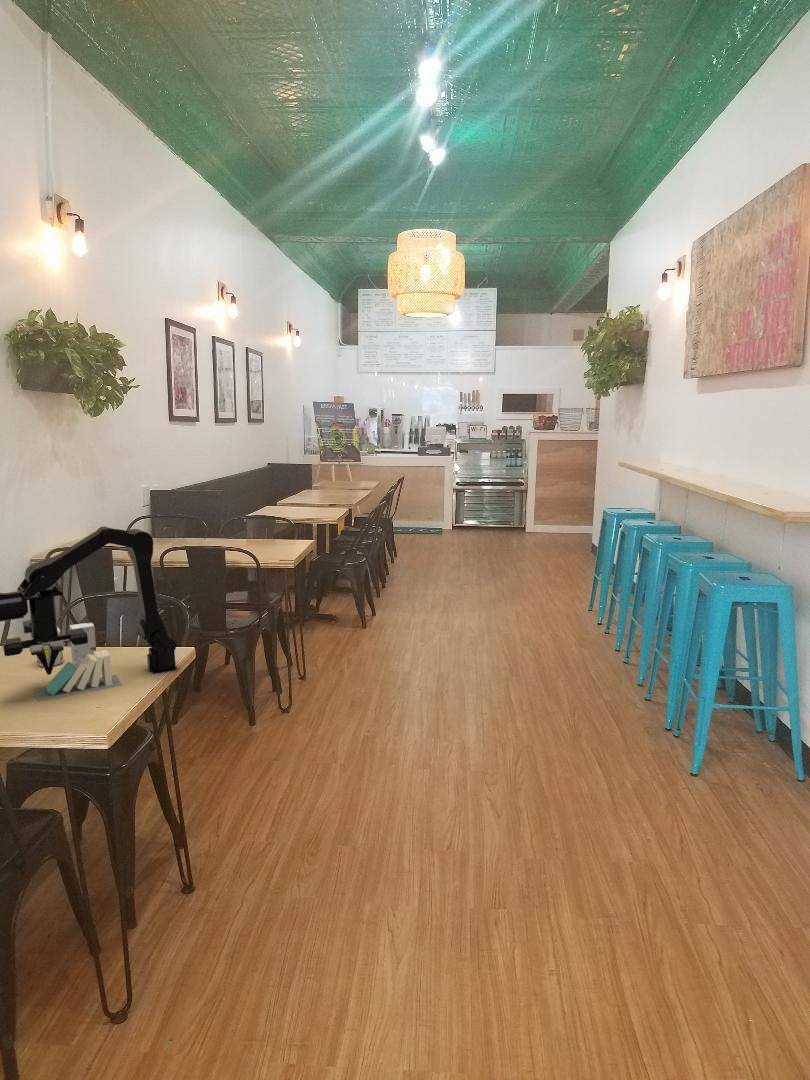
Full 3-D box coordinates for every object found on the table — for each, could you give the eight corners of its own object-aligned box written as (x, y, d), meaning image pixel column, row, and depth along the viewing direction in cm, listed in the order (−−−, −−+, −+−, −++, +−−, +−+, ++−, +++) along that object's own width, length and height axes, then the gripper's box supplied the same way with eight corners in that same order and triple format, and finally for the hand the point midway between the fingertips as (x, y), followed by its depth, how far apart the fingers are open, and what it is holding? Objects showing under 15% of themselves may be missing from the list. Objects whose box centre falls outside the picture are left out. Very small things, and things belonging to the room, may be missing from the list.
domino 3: (94, 681, 190) (100, 651, 190) (98, 687, 186) (103, 657, 186) (88, 681, 189) (93, 651, 189) (91, 687, 185) (97, 657, 185)
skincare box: (74, 671, 199) (70, 629, 197) (71, 666, 203) (68, 625, 200) (98, 666, 202) (95, 625, 200) (95, 662, 206) (91, 621, 204)
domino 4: (108, 678, 192) (106, 650, 191) (112, 684, 188) (110, 655, 187) (102, 679, 191) (100, 651, 190) (105, 685, 187) (103, 656, 186)
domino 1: (66, 686, 187) (84, 659, 188) (68, 692, 183) (87, 665, 184) (60, 683, 186) (78, 657, 187) (62, 690, 182) (81, 662, 183)
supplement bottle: (54, 658, 209) (50, 615, 207) (68, 662, 206) (64, 618, 204) (32, 665, 204) (28, 621, 201) (46, 669, 200) (42, 624, 198)
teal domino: (51, 689, 185) (73, 664, 187) (53, 695, 181) (76, 670, 183) (45, 685, 184) (68, 661, 186) (48, 692, 180) (71, 666, 182)
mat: (116, 676, 195) (116, 674, 195) (122, 686, 188) (122, 685, 187) (33, 691, 185) (33, 689, 185) (37, 703, 177) (37, 701, 177)
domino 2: (80, 683, 189) (93, 655, 189) (83, 690, 184) (96, 660, 185) (74, 682, 188) (87, 653, 188) (77, 688, 184) (90, 659, 184)
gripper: (79, 601, 191) (84, 658, 193) (-2, 612, 181) (5, 671, 184) (85, 611, 181) (90, 670, 184) (1, 623, 172) (8, 685, 174)
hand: (49, 674), depth 182 cm, fingers closed
